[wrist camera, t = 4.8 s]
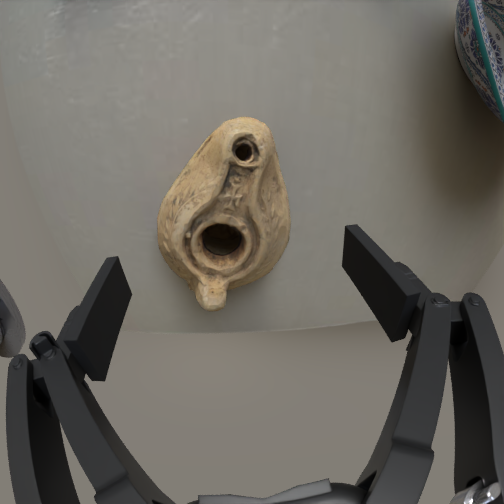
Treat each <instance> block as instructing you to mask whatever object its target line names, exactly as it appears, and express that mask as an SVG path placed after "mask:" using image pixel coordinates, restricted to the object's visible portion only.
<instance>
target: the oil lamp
mask: <svg viewBox="0 0 504 504" xmlns="http://www.w3.org/2000/svg"><path fill="white" fill-rule="evenodd" d="M290 223H291V221H290V209H289V201H288V195H287V191H286V187H285V183H284V180H283V177H282V173H281V170H280V166H279V160H278V155H277V152H276V149H275V143H274V140H273V136H272V133H271V130H270V129H269V128H268V127H267V126H266V125H265V124H264V123H262V122H260V121H258V120H256V119H253V118H250V117H240V118H235V119H231V120H228V121H225V122H224V123H223V124H222V125H221V126H220V127H219V128H217V129H216V130H215V131H214V132H213V133H212V134H211V135H210V136H209V137H208V138H207V139H206V140H205V141H204V143H203V144H202V145H201V147H200V148H199V149H198V150H197V151H196V153H195V154H194V155H193V157H192V158H191V159H190V161H189V162H188V164H187V165H186V166H185V168H184V169H183V171H182V172H181V173H180V175H179V176H178V178H177V179H176V180H175V182H174V183H173V185H172V186H171V188H170V189H169V191H168V193H167V195H166V196H165V197H164V199H163V201H162V204H161V207H160V210H159V213H158V218H157V226H158V244H159V249H160V251H161V254H162V256H163V258H164V260H165V261H166V263H167V264H168V266H169V267H170V268H171V269H172V270H173V271H174V272H175V273H176V274H177V275H179V276H180V277H181V278H183V279H185V280H186V281H187V282H188V286H189V288H190V290H193V291H194V292H195V295H196V299H197V301H198V302H199V304H200V306H201V307H202V308H203V309H205V310H207V311H218V310H221V309H223V308H224V307H225V303H226V298H227V293H226V291H227V290H231V289H234V288H237V287H240V286H243V285H246V284H249V283H251V282H253V281H255V280H257V279H259V278H261V277H263V276H265V275H266V274H268V273H269V272H270V271H271V270H272V269H273V267H274V266H275V264H276V263H277V262H278V260H279V259H280V257H281V256H282V254H283V252H284V250H285V248H286V246H287V244H288V242H289V233H290Z"/></svg>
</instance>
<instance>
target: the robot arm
mask: <svg viewBox="0 0 504 504" xmlns="http://www.w3.org/2000/svg"><path fill="white" fill-rule="evenodd" d="M342 267H343V268H344V270H345V271H346V273H347V274H348V276H349V277H350V279H351V280H352V282H353V283H354V285H355V286H356V287H357V289H358V290H359V292H360V293H361V295H362V296H363V298H364V300H365V301H366V303H367V304H368V306H369V307H370V309H371V310H372V312H373V313H374V315H375V316H376V318H377V320H378V321H379V323H380V324H381V326H382V328H383V329H384V331H385V332H386V334H387V336H388V337H389V339H390V340H391V342H395V341H398V340H401V339H404V338H405V337H406V334H407V332H408V329H409V330H410V332H411V333H412V337H411V340H410V342H409V344H408V347H407V349H406V350H407V351H408V352H407V356H406V360H405V364H404V367H403V371H402V374H401V378H400V381H399V384H398V388H397V391H396V394H395V397H394V400H393V403H392V406H391V409H390V412H389V415H388V417H387V420H386V423H385V425H384V428H383V430H382V433H381V435H380V438H379V440H378V442H377V445H376V447H375V449H374V452H373V454H372V456H371V458H370V460H369V463H368V464H367V466H366V468H365V469H364V471H363V472H362V474H361V475H360V477H359V479H358V481H357V483H356V484H355V486H354V485H350V484H345V483H330V481H329V479H324V480H320V481H316V482H312V483H307V484H303V485H298V486H296V487H293V488H291V489H288V490H286V491H283V492H281V493H278V494H276V495H273V496H270V497H268V498H254V497H245V496H237V495H231V494H228V495H198V500H196V501H193V502H190V503H188V504H417V503H418V501H419V499H420V496H421V494H422V491H423V489H424V486H425V483H426V480H427V477H428V475H429V472H430V469H431V465H432V462H433V459H434V451H433V450H432V449H431V445H432V441H433V437H434V434H435V430H436V426H437V421H438V416H439V412H440V408H441V403H442V397H443V391H444V385H445V379H446V372H447V364H448V359H449V365H450V373H451V382H452V391H453V402H454V419H455V464H454V487H455V496H454V497H453V499H452V500H451V502H450V504H504V354H503V351H502V348H501V344H500V341H499V338H498V335H497V333H496V330H495V327H494V324H493V321H492V319H491V316H490V313H489V311H488V308H487V306H486V303H485V301H484V300H483V298H482V297H480V296H479V295H478V294H475V293H466V294H464V296H463V299H462V301H461V302H450V300H449V299H448V298H447V297H446V296H444V295H442V294H440V293H432V292H431V291H430V290H429V289H428V288H427V287H426V286H425V285H424V284H423V282H422V281H421V280H420V279H419V278H417V276H416V275H415V274H414V273H413V272H412V271H411V270H410V269H409V268H408V267H407V266H406V265H404V264H402V263H401V262H395V263H394V262H393V260H392V259H391V258H390V257H389V256H388V255H387V254H386V253H385V252H384V251H383V250H382V249H381V248H380V247H379V246H378V245H377V244H376V243H375V242H374V241H373V240H372V239H371V238H370V237H369V236H368V235H367V234H366V233H365V232H364V231H363V230H362V229H361V228H360V227H359V226H358V225H357V224H356V225H347V226H345V235H344V248H343V260H342ZM131 296H132V293H131V290H130V288H129V285H128V282H127V280H126V277H125V274H124V272H123V269H122V266H121V263H120V261H119V258H118V256H116V257H109V258H106V260H105V262H104V263H103V265H102V267H101V268H100V270H99V272H98V274H97V275H96V277H95V279H94V281H93V282H92V284H91V286H90V288H89V289H88V291H87V293H86V295H85V297H84V299H83V301H82V302H81V304H80V306H76V307H75V308H74V309H73V310H72V311H71V312H70V314H69V316H68V318H67V321H66V322H65V324H64V327H63V328H62V330H61V332H60V334H59V336H58V338H57V340H56V341H55V339H54V338H53V336H52V335H51V333H50V332H48V331H42V332H40V333H38V334H37V335H35V336H34V337H33V339H32V340H31V342H30V346H29V348H30V350H31V351H32V352H33V354H34V355H35V356H36V358H37V359H34V360H29V359H28V358H27V356H26V355H25V354H18V355H17V356H15V357H14V358H13V359H12V360H11V362H10V364H9V367H8V378H7V396H6V434H7V449H8V460H9V467H10V475H11V481H12V486H13V492H14V497H15V501H16V504H80V502H79V499H78V496H77V493H76V490H75V487H74V483H73V480H72V477H71V473H70V469H69V465H68V461H67V457H66V453H65V448H64V444H63V438H62V433H61V428H60V423H61V425H62V428H63V430H64V432H65V434H66V437H67V439H68V441H69V443H70V445H71V447H72V449H73V451H74V453H75V455H76V457H77V459H78V461H79V463H80V465H81V467H82V468H83V470H84V472H85V474H86V475H87V477H88V479H89V481H90V482H91V484H92V485H93V487H94V489H95V491H96V494H95V496H94V498H95V501H96V503H97V504H175V503H174V502H173V501H172V500H171V499H170V498H169V497H167V496H166V495H165V494H164V493H163V492H162V491H161V490H160V489H159V488H158V487H157V486H156V485H155V483H154V482H153V481H152V480H151V479H150V478H149V476H148V475H147V474H146V473H145V471H144V470H143V469H142V468H141V466H140V465H139V464H138V463H137V461H136V460H135V459H134V457H133V456H132V455H131V454H130V452H129V451H128V449H127V448H126V446H125V445H124V443H123V442H122V441H121V439H120V438H119V436H118V435H117V433H116V432H115V430H114V429H113V427H112V426H111V424H110V423H109V421H108V419H107V418H106V416H105V414H104V413H103V411H102V409H101V408H100V406H99V404H98V403H97V401H96V399H95V397H94V395H93V394H92V392H91V390H90V388H89V386H88V384H87V383H86V382H85V380H84V378H85V374H87V375H88V377H89V378H90V379H91V380H92V381H105V379H106V375H107V372H108V368H109V365H110V361H111V358H112V354H113V351H114V348H115V344H116V341H117V338H118V334H119V331H120V328H121V325H122V322H123V319H124V316H125V313H126V310H127V307H128V305H129V302H130V299H131ZM3 338H4V330H3V326H2V323H1V321H0V344H1V342H2V341H3Z"/></svg>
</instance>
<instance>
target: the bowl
mask: <svg viewBox="0 0 504 504" xmlns="http://www.w3.org/2000/svg"><path fill="white" fill-rule="evenodd" d="M454 36H455V45H456V50H457V53H458V57H459V59H460V62H461V64H462V67H463V69H464V71H465V73H466V74H467V76H468V78H469V79H470V81H471V82H472V83H473V84H474V86H475V88H476V90H477V92H478V93H479V95H480V97H481V98H482V99H483V101H484V102H485V104H486V105H487V106H488V108H489V109H490V110H491V111H492V112H493V113H494V115H495V116H496V117H497V118H498V119H499V120H500V121H501V122H503V123H504V0H459V2H458V5H457V11H456V26H455V35H454Z"/></svg>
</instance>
